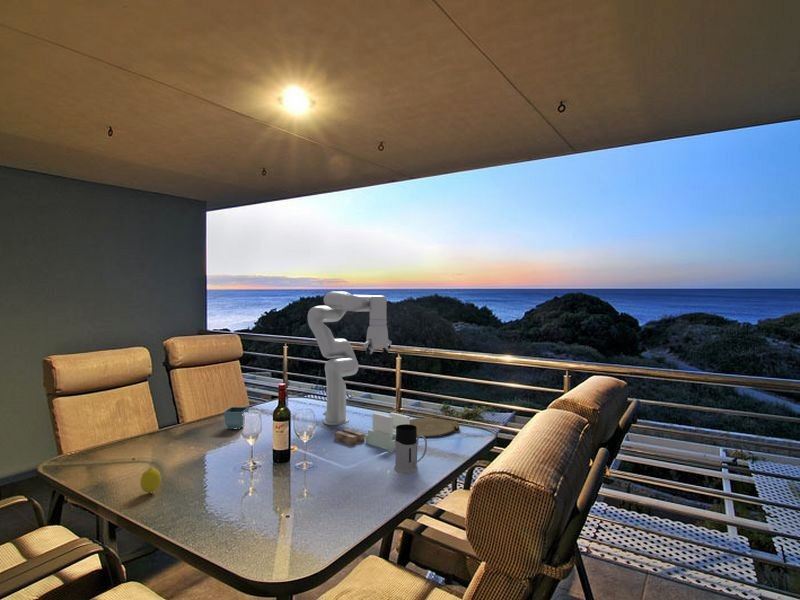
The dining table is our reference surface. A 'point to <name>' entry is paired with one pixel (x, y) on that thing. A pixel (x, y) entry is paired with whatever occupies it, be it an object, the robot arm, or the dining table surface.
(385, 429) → the tall white panel
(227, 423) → the flower pot
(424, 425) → the decorative disc
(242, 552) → the dining table surface
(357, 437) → the stand
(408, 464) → the grey black mug
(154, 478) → the lemon
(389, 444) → the rack
